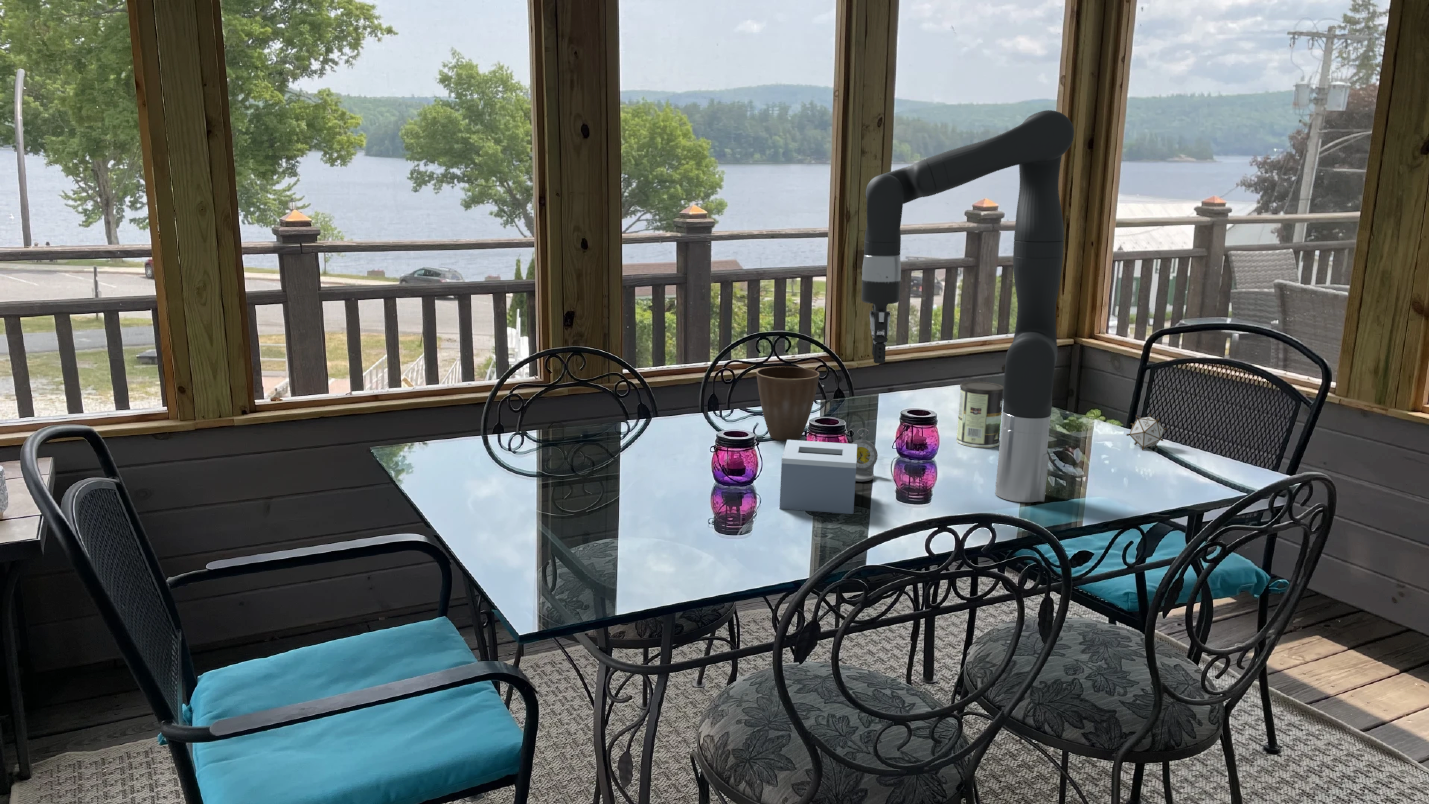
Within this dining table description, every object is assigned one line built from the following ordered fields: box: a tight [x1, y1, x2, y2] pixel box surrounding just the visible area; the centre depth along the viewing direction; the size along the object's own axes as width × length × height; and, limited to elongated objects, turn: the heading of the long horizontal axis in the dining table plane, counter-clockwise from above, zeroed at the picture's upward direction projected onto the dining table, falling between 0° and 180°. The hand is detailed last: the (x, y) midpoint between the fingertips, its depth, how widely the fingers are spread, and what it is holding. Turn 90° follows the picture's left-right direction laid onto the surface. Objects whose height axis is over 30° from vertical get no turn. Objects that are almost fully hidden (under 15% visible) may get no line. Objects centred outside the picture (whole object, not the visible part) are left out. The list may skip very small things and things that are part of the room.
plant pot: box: [756, 366, 820, 442], centre depth 252 cm, size 15×15×16 cm
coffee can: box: [955, 380, 1004, 449], centre depth 253 cm, size 10×10×14 cm
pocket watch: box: [850, 427, 878, 483], centre depth 223 cm, size 8×8×10 cm
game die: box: [1125, 413, 1168, 451], centre depth 254 cm, size 9×8×10 cm
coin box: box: [779, 439, 858, 515], centre depth 206 cm, size 14×14×10 cm
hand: (878, 359), depth 211 cm, fingers open, 8 cm apart
